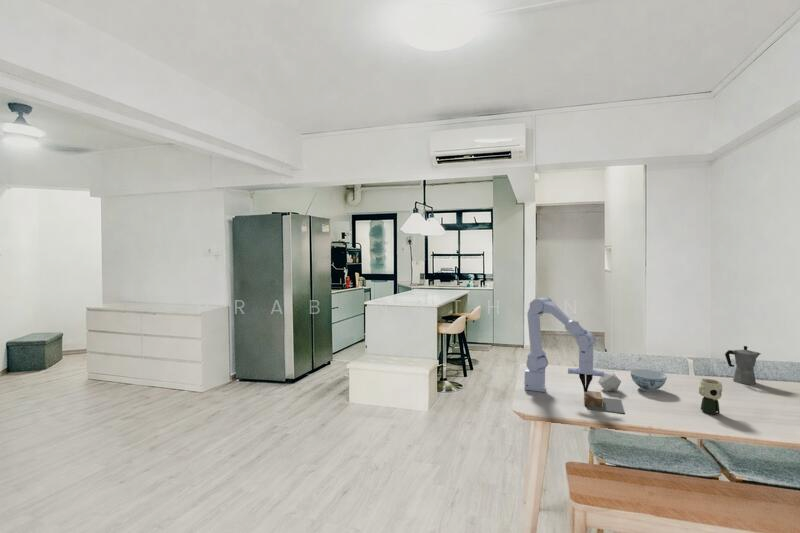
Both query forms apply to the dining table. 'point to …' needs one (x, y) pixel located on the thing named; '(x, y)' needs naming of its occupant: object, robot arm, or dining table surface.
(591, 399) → the two-tone wooden block
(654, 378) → the chinaware
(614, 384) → the die
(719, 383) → the character mug
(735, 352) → the coffeepot
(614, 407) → the mat
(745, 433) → the dining table surface
